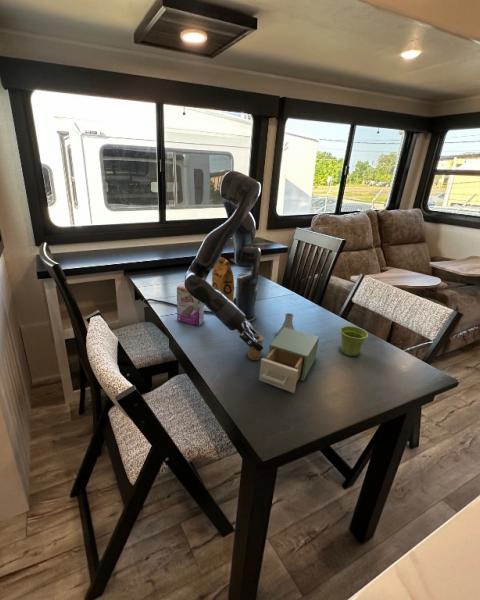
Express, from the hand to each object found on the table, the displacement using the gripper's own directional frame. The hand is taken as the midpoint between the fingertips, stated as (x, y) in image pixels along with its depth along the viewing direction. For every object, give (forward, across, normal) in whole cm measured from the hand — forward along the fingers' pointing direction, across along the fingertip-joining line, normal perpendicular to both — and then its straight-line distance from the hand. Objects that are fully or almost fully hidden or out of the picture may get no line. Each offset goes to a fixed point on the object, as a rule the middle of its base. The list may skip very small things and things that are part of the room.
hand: (259, 343), depth 111 cm
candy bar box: (-14, +27, +23) cm, 38 cm away
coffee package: (-3, +53, +12) cm, 54 cm away
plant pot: (+29, +4, -21) cm, 36 cm away
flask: (+14, +15, -6) cm, 21 cm away
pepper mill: (+3, 0, +5) cm, 6 cm away
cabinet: (+12, -4, -4) cm, 13 cm away
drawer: (+7, -14, 0) cm, 16 cm away
